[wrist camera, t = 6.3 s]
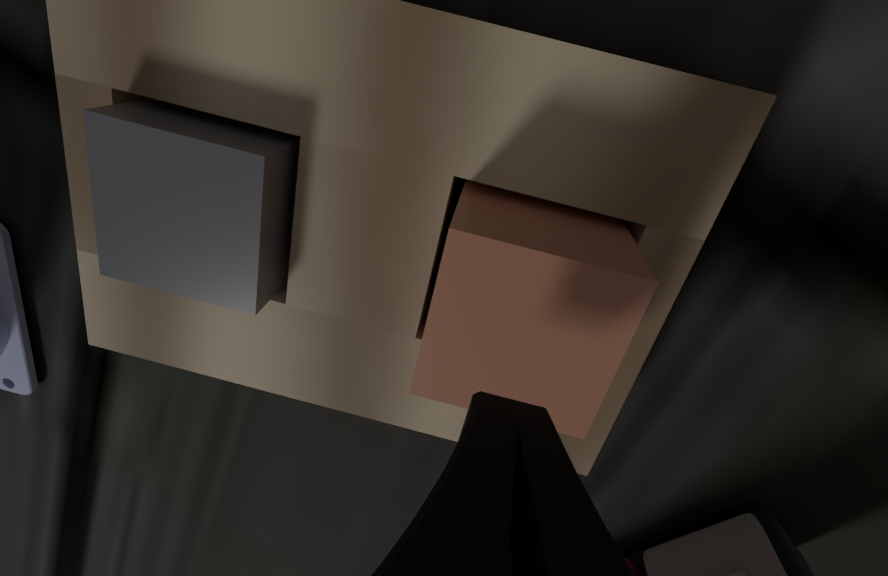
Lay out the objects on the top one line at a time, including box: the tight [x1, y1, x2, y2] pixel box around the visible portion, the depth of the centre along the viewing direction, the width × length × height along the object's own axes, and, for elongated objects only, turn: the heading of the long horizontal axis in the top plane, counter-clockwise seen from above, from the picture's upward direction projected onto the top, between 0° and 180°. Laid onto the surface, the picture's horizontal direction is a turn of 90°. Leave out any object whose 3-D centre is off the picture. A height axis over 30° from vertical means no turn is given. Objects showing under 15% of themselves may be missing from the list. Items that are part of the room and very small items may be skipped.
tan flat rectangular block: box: [46, 0, 777, 476], centre depth 15 cm, size 17×12×3 cm
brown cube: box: [409, 179, 659, 440], centre depth 13 cm, size 4×4×4 cm
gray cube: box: [83, 98, 301, 315], centre depth 15 cm, size 4×4×4 cm
